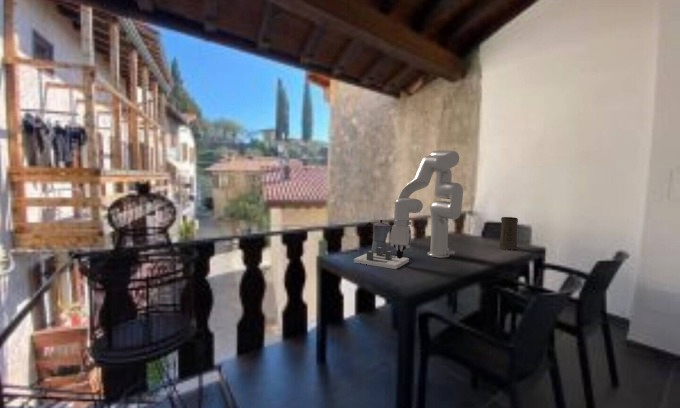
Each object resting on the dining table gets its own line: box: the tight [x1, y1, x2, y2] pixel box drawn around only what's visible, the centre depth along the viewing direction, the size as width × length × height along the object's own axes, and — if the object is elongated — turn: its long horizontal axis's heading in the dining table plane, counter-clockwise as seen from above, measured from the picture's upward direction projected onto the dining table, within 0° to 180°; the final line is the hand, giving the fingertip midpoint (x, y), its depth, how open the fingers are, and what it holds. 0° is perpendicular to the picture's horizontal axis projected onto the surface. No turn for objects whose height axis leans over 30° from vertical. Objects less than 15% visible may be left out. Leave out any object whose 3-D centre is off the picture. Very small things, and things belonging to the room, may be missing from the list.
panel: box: [353, 252, 410, 270], centre depth 224 cm, size 24×18×2 cm
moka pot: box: [365, 219, 393, 255], centre depth 242 cm, size 10×15×20 cm, turn 78°
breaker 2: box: [376, 247, 383, 256], centre depth 230 cm, size 2×3×4 cm
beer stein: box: [498, 216, 519, 250], centre depth 265 cm, size 15×11×20 cm
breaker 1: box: [366, 250, 373, 260], centre depth 220 cm, size 2×3×4 cm
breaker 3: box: [385, 250, 393, 260], centre depth 221 cm, size 2×3×4 cm
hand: (399, 258), depth 218 cm, fingers closed
